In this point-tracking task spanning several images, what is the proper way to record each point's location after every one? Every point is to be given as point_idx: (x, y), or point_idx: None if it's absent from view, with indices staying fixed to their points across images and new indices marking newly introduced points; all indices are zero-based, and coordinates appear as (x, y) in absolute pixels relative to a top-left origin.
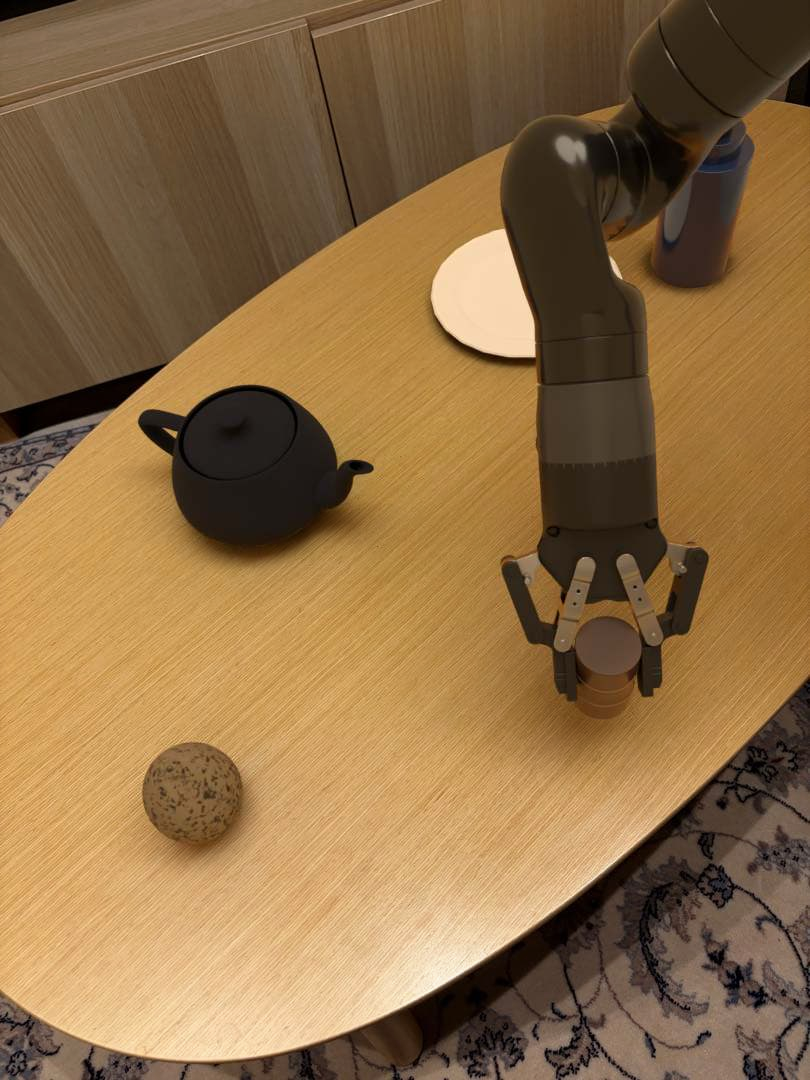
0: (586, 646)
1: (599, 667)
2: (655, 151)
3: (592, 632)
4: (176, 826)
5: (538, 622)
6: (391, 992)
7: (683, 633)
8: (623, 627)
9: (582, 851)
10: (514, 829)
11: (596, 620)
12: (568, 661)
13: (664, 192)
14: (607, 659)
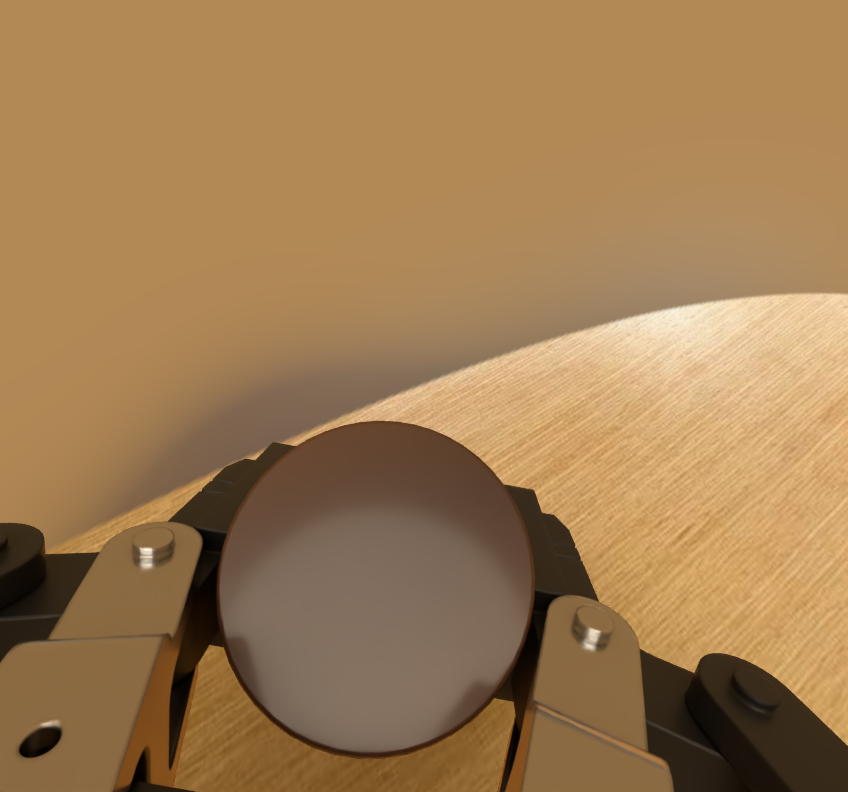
0: (482, 581)
1: (451, 466)
2: None
3: (433, 656)
4: None
5: (784, 772)
6: (728, 311)
7: (6, 528)
8: (268, 644)
9: (467, 401)
10: (563, 452)
11: (389, 734)
12: (546, 567)
13: None
14: (408, 491)
